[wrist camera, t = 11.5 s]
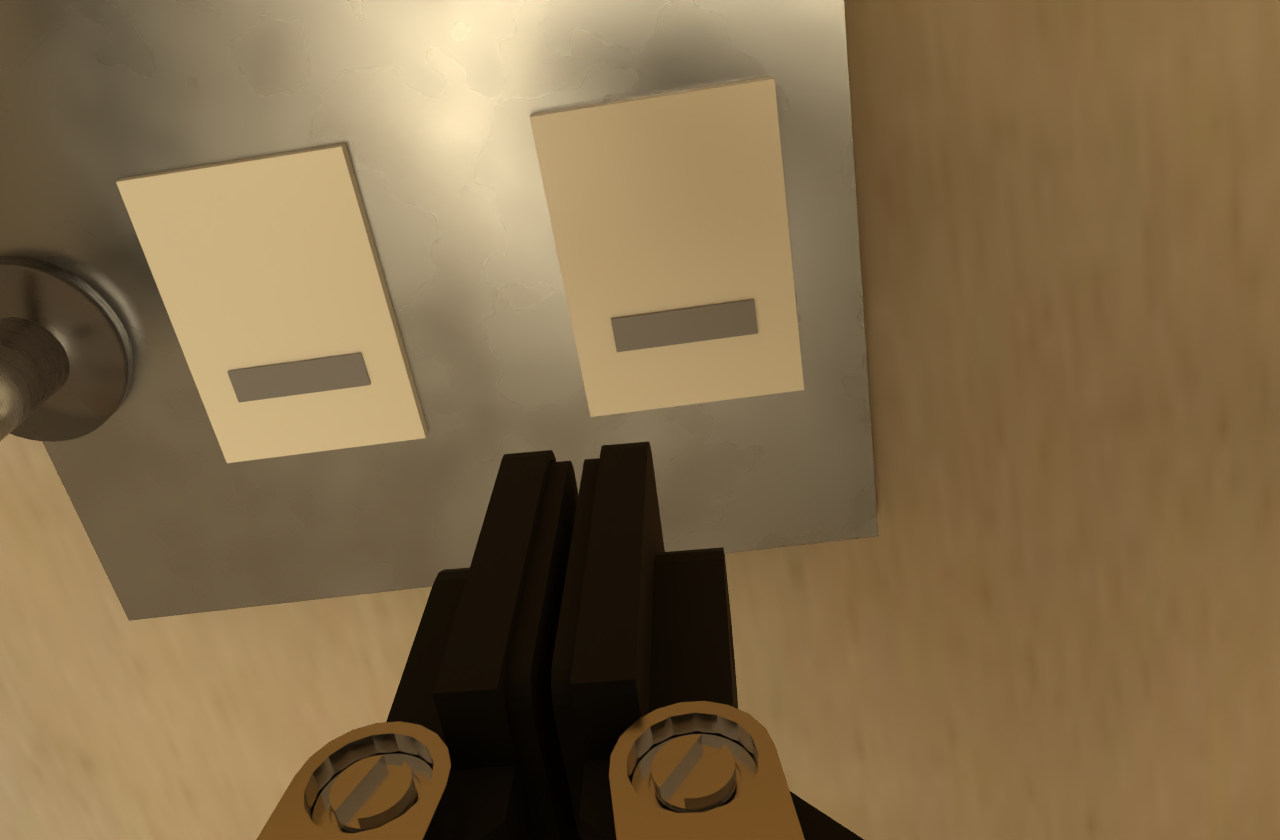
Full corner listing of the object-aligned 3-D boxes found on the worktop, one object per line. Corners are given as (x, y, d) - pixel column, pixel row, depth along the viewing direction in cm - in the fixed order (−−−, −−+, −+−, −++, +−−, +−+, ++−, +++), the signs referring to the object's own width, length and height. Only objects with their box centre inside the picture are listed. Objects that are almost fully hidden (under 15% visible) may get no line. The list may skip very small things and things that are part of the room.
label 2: (773, 75, 21) (774, 79, 21) (802, 384, 25) (804, 392, 24) (531, 113, 22) (528, 118, 21) (591, 411, 25) (590, 419, 25)
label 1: (345, 143, 22) (340, 147, 22) (428, 432, 25) (424, 440, 25) (122, 178, 23) (113, 183, 22) (231, 457, 26) (225, 465, 26)
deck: (824, -190, 20) (885, -208, 14) (871, 514, 27) (924, 692, 22) (-194, -5, 22) (-504, 44, 16) (104, 602, 29) (-36, 785, 24)
